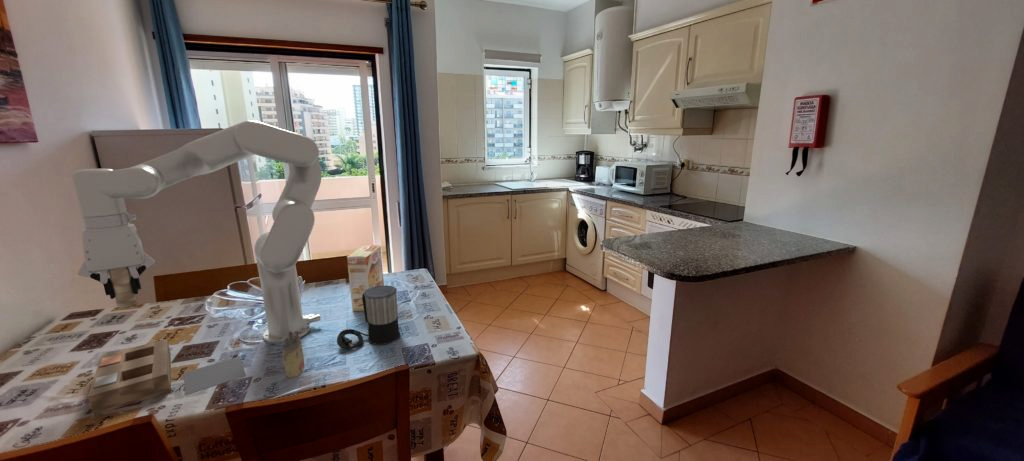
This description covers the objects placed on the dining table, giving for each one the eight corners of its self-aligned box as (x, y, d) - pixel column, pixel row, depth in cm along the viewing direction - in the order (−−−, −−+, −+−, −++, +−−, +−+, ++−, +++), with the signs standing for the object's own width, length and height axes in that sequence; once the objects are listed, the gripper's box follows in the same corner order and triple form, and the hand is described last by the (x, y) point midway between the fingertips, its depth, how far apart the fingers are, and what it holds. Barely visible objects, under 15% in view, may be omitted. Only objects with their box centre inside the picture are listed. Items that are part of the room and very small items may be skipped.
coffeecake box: (372, 311, 139) (366, 256, 135) (351, 311, 139) (345, 256, 135) (385, 294, 154) (381, 244, 149) (367, 294, 154) (362, 244, 150)
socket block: (170, 355, 112) (167, 337, 111) (171, 392, 96) (166, 372, 95) (105, 372, 104) (100, 354, 103) (93, 416, 88) (87, 395, 87)
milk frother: (407, 334, 123) (403, 287, 120) (368, 359, 109) (363, 308, 106) (371, 325, 129) (367, 281, 126) (330, 348, 115) (324, 299, 112)
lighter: (299, 377, 101) (294, 341, 99) (282, 380, 100) (277, 343, 98) (306, 362, 108) (301, 328, 106) (290, 364, 107) (285, 329, 105)
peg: (137, 300, 103) (126, 255, 100) (136, 305, 100) (125, 258, 98) (118, 304, 101) (106, 258, 98) (116, 309, 98) (104, 261, 95)
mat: (239, 357, 111) (239, 356, 111) (246, 377, 102) (246, 375, 102) (183, 374, 103) (183, 372, 103) (185, 396, 94) (185, 395, 94)
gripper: (153, 214, 104) (168, 282, 108) (58, 224, 94) (79, 299, 98) (152, 219, 98) (168, 290, 102) (51, 229, 88) (74, 309, 92)
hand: (124, 294), depth 100 cm, fingers closed on peg, 3 cm apart
